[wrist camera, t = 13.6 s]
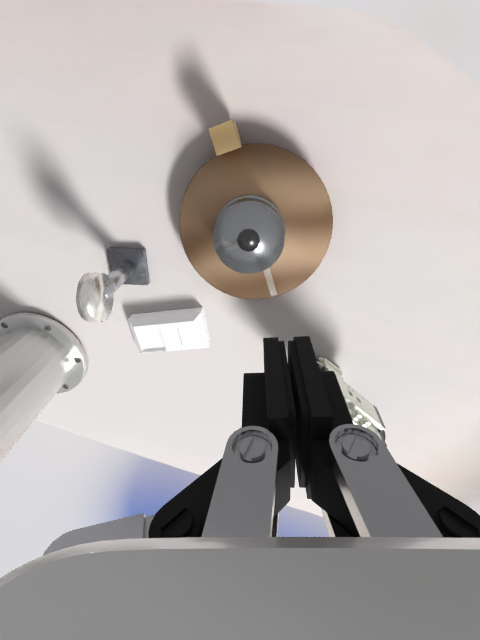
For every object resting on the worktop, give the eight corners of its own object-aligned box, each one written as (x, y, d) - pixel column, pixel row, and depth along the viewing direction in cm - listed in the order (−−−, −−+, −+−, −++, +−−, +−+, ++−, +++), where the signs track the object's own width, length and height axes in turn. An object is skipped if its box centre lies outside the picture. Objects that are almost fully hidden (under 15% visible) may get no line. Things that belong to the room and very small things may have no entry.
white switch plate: (210, 339, 41) (207, 351, 39) (144, 345, 42) (137, 357, 40) (203, 305, 39) (199, 315, 37) (132, 312, 40) (125, 323, 38)
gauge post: (116, 282, 38) (67, 329, 28) (109, 245, 35) (54, 283, 26) (149, 284, 37) (112, 331, 28) (145, 246, 35) (103, 285, 26)
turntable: (341, 274, 34) (350, 289, 31) (211, 308, 37) (206, 326, 34) (308, 93, 27) (315, 86, 23) (149, 155, 30) (134, 157, 26)
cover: (244, 276, 34) (242, 289, 31) (201, 224, 32) (194, 233, 29) (298, 237, 32) (301, 247, 29) (256, 178, 29) (255, 182, 26)
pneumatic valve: (338, 402, 45) (362, 482, 34) (277, 355, 41) (283, 428, 31) (371, 380, 42) (407, 458, 32) (309, 328, 39) (327, 397, 29)
